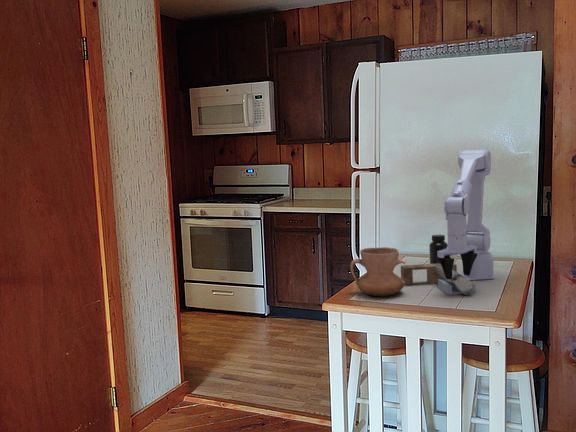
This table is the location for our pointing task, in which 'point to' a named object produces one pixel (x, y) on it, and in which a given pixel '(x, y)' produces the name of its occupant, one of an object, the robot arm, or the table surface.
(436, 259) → the supplement bottle
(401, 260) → the ceramic jug
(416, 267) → the beam
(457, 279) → the axle
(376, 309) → the table surface
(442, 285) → the cradle
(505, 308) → the table surface
